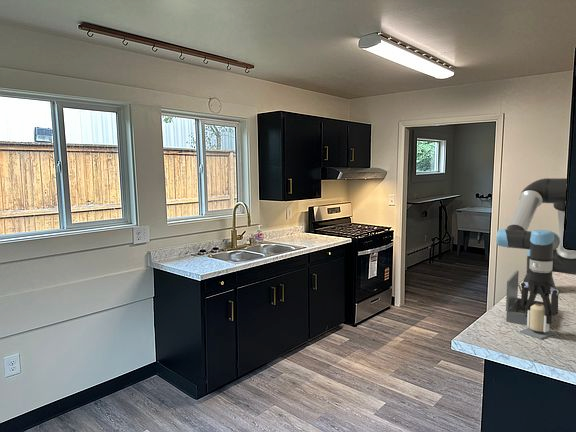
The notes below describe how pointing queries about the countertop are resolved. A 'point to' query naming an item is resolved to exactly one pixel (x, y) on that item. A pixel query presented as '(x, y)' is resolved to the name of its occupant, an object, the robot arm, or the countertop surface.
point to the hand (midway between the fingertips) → (537, 328)
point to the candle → (537, 317)
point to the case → (515, 301)
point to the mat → (537, 333)
